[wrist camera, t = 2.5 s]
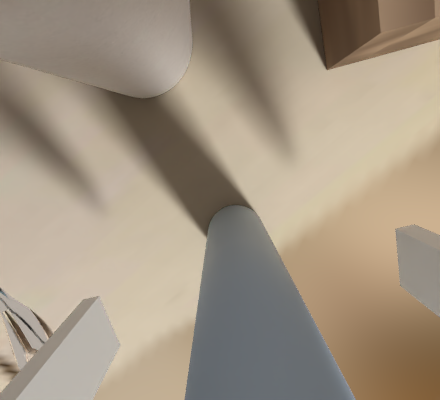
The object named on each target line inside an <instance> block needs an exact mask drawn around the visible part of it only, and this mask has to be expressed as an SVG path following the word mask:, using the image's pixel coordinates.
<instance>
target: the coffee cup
mask: <svg viewBox="0 0 440 400" xmlns="http://www.w3.org/2000/svg"><path fill="white" fill-rule="evenodd" d="M192 44H193V40H192V25H191V13H190V0H0V60H4V61H7V62H11V63H14V64H18V65H21V66H25V67H29V68H32V69H36V70H39V71H43V72H46V73H50V74H53V75H57V76H60V77H64V78H67V79H71V80H75V81H78V82H82V83H85V84H89V85H92V86H96V87H99V88H103V89H106V90H110V91H113V92H117V93H120V94H124V95H127V96H131V97H136V98H150V97H155V96H158V95H161V94H163V93H165V92H167V91H169V90H170V89H171V88H173V87H174V86H175V85H176V84H177V83H178V82H179V81H180V79H181V78H182V77H183V75H184V73H185V72H186V70H187V67H188V65H189V62H190V59H191V54H192Z"/></svg>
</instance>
